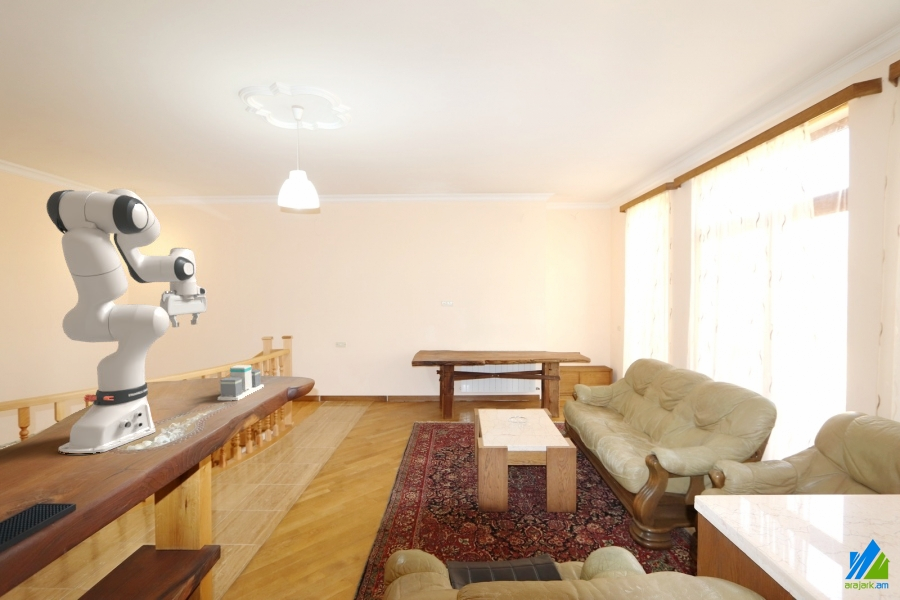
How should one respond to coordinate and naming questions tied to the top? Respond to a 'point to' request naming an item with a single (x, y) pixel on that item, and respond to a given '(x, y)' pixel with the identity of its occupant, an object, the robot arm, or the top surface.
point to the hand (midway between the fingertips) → (185, 325)
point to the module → (242, 375)
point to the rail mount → (239, 386)
